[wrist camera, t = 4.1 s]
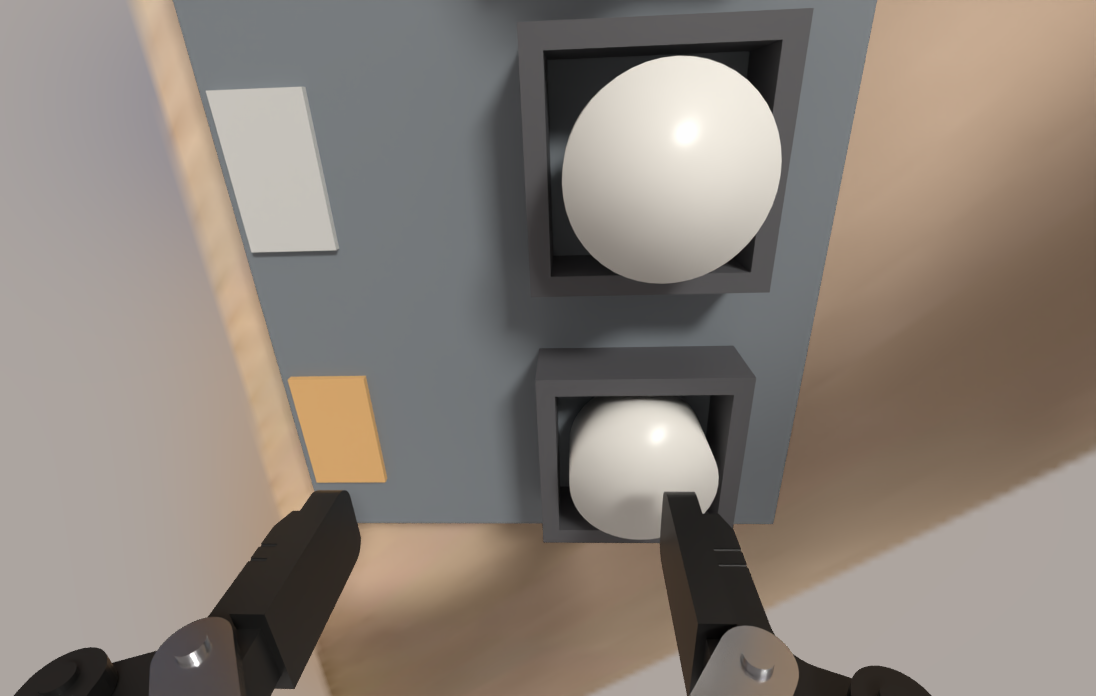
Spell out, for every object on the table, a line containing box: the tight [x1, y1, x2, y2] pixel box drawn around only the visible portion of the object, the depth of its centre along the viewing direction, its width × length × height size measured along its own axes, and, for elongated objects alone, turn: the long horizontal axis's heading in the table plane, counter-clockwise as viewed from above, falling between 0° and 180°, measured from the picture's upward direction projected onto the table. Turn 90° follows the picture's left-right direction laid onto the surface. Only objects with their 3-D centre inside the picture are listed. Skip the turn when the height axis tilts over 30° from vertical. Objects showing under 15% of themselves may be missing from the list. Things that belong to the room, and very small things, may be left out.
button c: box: [569, 395, 719, 540], centre depth 15 cm, size 4×4×2 cm
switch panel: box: [173, 0, 877, 543], centre depth 13 cm, size 16×24×4 cm, turn 2°
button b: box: [562, 56, 782, 284], centre depth 10 cm, size 4×4×2 cm
